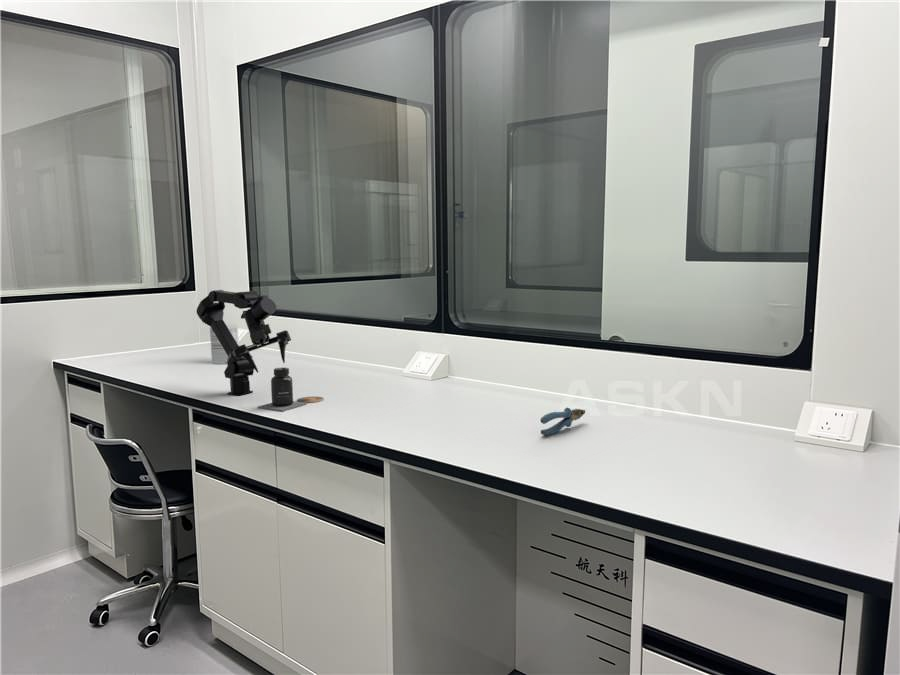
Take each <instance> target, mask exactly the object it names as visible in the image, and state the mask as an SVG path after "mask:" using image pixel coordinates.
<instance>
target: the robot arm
mask: <svg viewBox="0 0 900 675" xmlns="http://www.w3.org/2000/svg"><path fill="white" fill-rule="evenodd" d="M225 303H227V304H232V305H234V307H236V308H238V309H241V310H242V309H246V310H242V314H241V315H240V319H241V320H243V319H244V320H245V323H246V326H247V328H248V331H249V332H248V333H249V337H250V338H249V339H250V340H251V343H252V344H251V345H246V344H241V345H239V346H238V344H237V342H236V341H235V339H234V337H233V336H232V334H231V332H230V331H229V329H228V327H227V326H226V325H227V324H226V322H225V321H224V310H225V308H226V304H225ZM276 311H277V305H276V303H275V302H274V300H272V299H271V298H269V297H268V295H261V296H260V295H259V294H258V292H257V291H255V290H251V291H250V290H249V291H240V292H239V291H238V292H235V291H227V290H223V289H218V290H211V291H210V292H209V293H208V295H207V296H206V297H204V298H203V299H202V300H200V302H199V304H198V305H197V307H196V315H197V317H198V318H199V319H200V320H201V321H202V322H201V323H203V324H205V325H206V326H209V328H210V327H211V328H212V330H213V332H214V333H215V335H216V337H217V338H218V340H219V342H220V343H221V345H222V347H223V348H224V350H225V352H226V354H227V355H228V359H227V364H226V365H227V366H226V368H225V370H224V372H223V374H224V377H225V378H226V379H229V385H230V391H228V392H227V395H233V396H243V395H244V396H245V395H248V394H251V393H254V391H253V390H251V386H250V385H251V384H250V379H249V376H253V375H254V370H255V371H256V373H259V371H258V370H259V369H258V367H257V366H256V363H255V360H254V359H253V358H254V357H253V355H252V354H251V353H250V352H252V351H256V350H259V349H261V348H264V347H267V346H269V345H273V344H275V343H278V347H279V352H280V356H281V360H282V362H283V364H285V363H286V360H285V359H286V348H287V346H288V345H289V342H290V341H292V339H291V336H290V333H289V331H288V330H282V331H280V332H276V333H275V334H276V336H274V337H270V335H269V334H272V329H271V327H270V325H269V323H266V324H265V321H264V320H266V319H268V318H269V317H270V316H271V315H272V314H274V313H275V312H276Z"/></svg>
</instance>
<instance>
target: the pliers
mask: <svg viewBox="0 0 900 675" xmlns="http://www.w3.org/2000/svg"><path fill="white" fill-rule="evenodd" d="M585 414H586V409H580V408H574V409H571V408H570V407H566V408H564V410H563V411H553V412H549V413H546V414H544V415H542V416H541V418H540V423H541V424H547V423H549V422H551V421H553V420H556V419H561V420H560V421H558V422H557V423H556V424H554V425H552V426H550V427H548V428H545V429H541V430H540V434H541V435H542V436H550V435H551V436H552V435H554V434H556V433H557V432H559V431H561V430H562V429H563V428H564V427H567V428H570V427H571V426H572V424H573V421H577V420H580V418H582V417H583V416H584V415H585Z"/></svg>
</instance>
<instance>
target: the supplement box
mask: <svg viewBox="0 0 900 675" xmlns="http://www.w3.org/2000/svg"><path fill="white" fill-rule="evenodd" d="M226 326H227V327H228V329H229V331H230V332H231V334H232V336H233V337H234V339H235V341H236V342H237V344H238V346H240V345H239V329H238V328H239V327H238V325H237V324H226ZM209 336H210V337H209V338H210V351H211V352H210V353H211V354H210V355H211V363H213V364H212V365H227V359H228V355H227V354H226V352H225V350H224V348H223V347H222V345H221V343H220V342H219V340H218V338H217V337H216V335H215V333H214V332H213V330H212V328H211V327H210V326H209ZM214 363H215V364H214Z"/></svg>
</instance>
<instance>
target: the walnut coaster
mask: <svg viewBox="0 0 900 675" xmlns="http://www.w3.org/2000/svg"><path fill="white" fill-rule="evenodd" d="M324 399H325V398H324V397H322V396H316V395H315V396H304V397H303V396H302V397H299V398H298V399H296V402H303V403H307V404H315V403H320V402H322V401H324Z"/></svg>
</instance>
